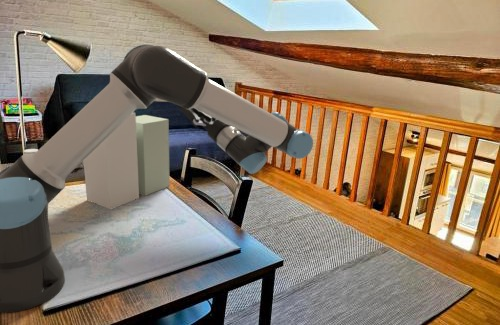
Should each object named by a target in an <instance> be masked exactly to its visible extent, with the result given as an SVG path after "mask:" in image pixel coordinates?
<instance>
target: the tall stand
mask: <svg viewBox="0 0 500 325" xmlns="http://www.w3.org/2000/svg"><path fill="white" fill-rule="evenodd" d="M136 116H137V115H136V112H133V113H132V114H131V115H130V116H129V117H128V118H127V119H126V120H125V121H124V122H123V123H122V124H120V125H119V126H118V127H117V128H116V129H115V130H114V131H113V132H112V133H111V134H110V135H109V136H108V137H107V138H106V139H105V140H104V141H103V142H102V143H101V144H100V145H99V146H98V147H97V148H96V149H95V150H94V151H93V152H91V153H90V154H89V155H88V156H87V157H86V158H85V159H84V160H83V161H84V167H83V170H84V171H83V172H84V180H85V182H84V183H85V192H86V201H88V200H89V201H88V202H90V201H92V202H91V203H93V202H94V203H93V204H95V203H97V204H96V205H98V204H99V205H98V206H100V205H101V207H103V206H104V208H105V207H106V208H105V209H108V210H112V209H115V208H117V206H118V207H120V206H123V205H125V204H127V203H130V202H133V201H136V200H138V199H140V193H139V184H138V161H137V138H136ZM135 199H136V200H135ZM122 204H123V205H122ZM114 207H115V208H114Z"/></svg>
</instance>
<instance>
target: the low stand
mask: <svg viewBox="0 0 500 325" xmlns="http://www.w3.org/2000/svg"><path fill="white" fill-rule="evenodd" d="M169 122H170V120H169V118H163V117H157V116H153V115H147V114H142V115H136V138H137V161H138V184H139V195H142V196H148V195H151V194H153V193H156V192H157V191H161V190H164V189H166V188H168V187H170V186H171V185H170V136H169V135H170V132H169V131H170V130H169V124H170V123H169Z"/></svg>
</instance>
